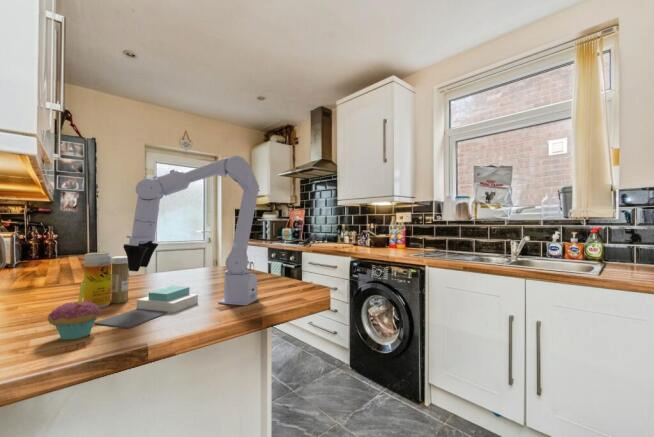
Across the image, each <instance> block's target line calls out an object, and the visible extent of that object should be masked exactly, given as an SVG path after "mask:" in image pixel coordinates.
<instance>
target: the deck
mask: <svg viewBox="0 0 654 437" xmlns="http://www.w3.org/2000/svg"><path fill="white" fill-rule="evenodd" d="M198 300H199V295H198V294H194V293H189V294H187V295H184V296H181V297H178V298H176V299H173V300H170V301H157V300H149V295H148V296H145V297H141V298H138V299H136V306H135V307H136V309H147V310H156V311H166V312H169V313H173V314H174V313H175V312H179V311H181V310H184V309H186V308H188V307H191V306H194V305H196V304H198V303H199V301H198Z"/></svg>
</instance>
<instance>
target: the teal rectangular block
mask: <svg viewBox="0 0 654 437" xmlns="http://www.w3.org/2000/svg"><path fill="white" fill-rule="evenodd" d="M187 294H190V286H179V285H171V286H168V287H165V288H161V289H157V290H153V291H150V292H148V296H149V300H157V301H170V300H173V299H176V298H178V297H181V296H184V295H187Z"/></svg>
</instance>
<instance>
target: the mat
mask: <svg viewBox="0 0 654 437" xmlns="http://www.w3.org/2000/svg"><path fill="white" fill-rule="evenodd" d="M169 313H170V312H166V311H156V310H147V309H132V310H129V311H126V312H123V313H120V314H117V315H114V316H111V317H108V318H105V319H102V320H99V321H95V322H94V324H93V325H99V326H104V327H105V326H108V327H114V328H122V329H131V328H134V327H136V326H139V325H141V324H144V323H146V322H149V321H151V320H154V319H158V318H159V317H162V316H164V315H167V314H169Z"/></svg>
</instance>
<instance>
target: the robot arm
mask: <svg viewBox="0 0 654 437" xmlns="http://www.w3.org/2000/svg"><path fill="white" fill-rule="evenodd" d="M227 175H228V176H229V178H230V179H232V180H233V181H234V182H236V183H237V184H238V185H239V187H240V188H241V189H242V191H243V192H242V198H241V201H240V208H239V212H238V217H237V222H236V228H235V232H234V237H233V242H232V245H231V249H230V252H229V254H228V255H227V257H226V260H225V267H226V270H225V271H224V296H223V298H222V299H220V300H218V301H217V303H218V304H224V305H226V304H227V305H235V306H249V305H250V304H252V303H254V302H255V301H257V300H258V299H259V297H258V276H257V274H255V273H251V272H250V269H249V268H247V267H248V264H249V263H248V262H249V261H248V260H249V259H248V258H249V256H248V254H247V253H248V252H247V251H248V247H249V241H250V236H251V231H252V225H253V220H254V215H255V212H256V206H257V200H258V197H259V196H258V195H259V189H260V185H259V182H258V180H257V178H256V176H255V173H254V172H253V169H252V166H251V164H249V162H248V161H247V160H246V159H245V158H244V157H242V156H240V155H233V156H230V157H224V158H220V159H218V160H216V161H213V162H210V163H207V164H205V165H203V166H199V167H197V168H193V169H192V170H189V171H186V172H184V171H182V170H175V169H171V170H169V173H166V174H163V175H160V176H157V175H154V176H152V179H151V178H143V179H142V180H140V181H139V182H137V184H136V186H135V193H136V194H137V200H136V204H135V205H136V206H135V211H134V215H133V216H134V217H133V222H132V223H133V224H132V230H131V235H130V234H127V235H126V238H127V239H129V242H128V243H125V244H123V250H124V251H125V254H126V255H125V256H127V259H128V267H129V271H130V272H139V270H140V268H141V267H142V268H147V267H149V264H150V261H151V259H152V256H153V254H154V252H155V250H156V249H157V248H158V246H159V243H158V242H155V241H156V233H157V232H156V230H157V225H158V219H159V218H158V217H159V211H160V203H161V199H162V198H163V197H164V196H166V197H167V196H169V195H172V194H175V193H178V192H182V191H184V190H187V189H188V188H189V185H190V184H191V183H195V182H198V181H201V180H204V179H207V178H211V177H213V176H214V177H215V176H220V177H224V178H227Z"/></svg>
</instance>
